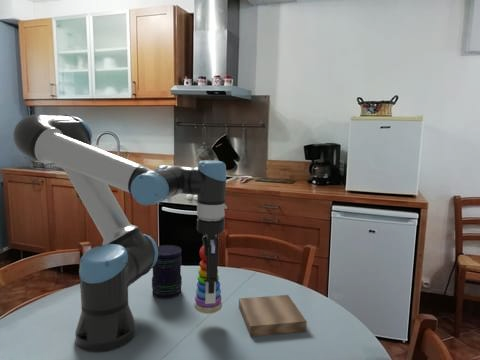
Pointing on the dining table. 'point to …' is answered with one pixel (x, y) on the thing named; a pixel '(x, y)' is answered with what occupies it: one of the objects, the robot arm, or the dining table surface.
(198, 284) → the stacking toy
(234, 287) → the dining table surface
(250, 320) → the walnut base
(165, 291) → the storage jar
